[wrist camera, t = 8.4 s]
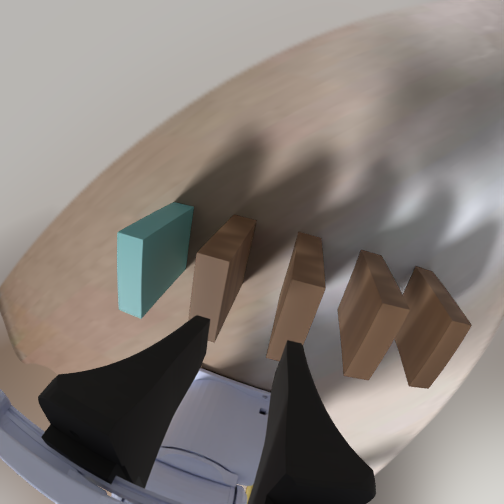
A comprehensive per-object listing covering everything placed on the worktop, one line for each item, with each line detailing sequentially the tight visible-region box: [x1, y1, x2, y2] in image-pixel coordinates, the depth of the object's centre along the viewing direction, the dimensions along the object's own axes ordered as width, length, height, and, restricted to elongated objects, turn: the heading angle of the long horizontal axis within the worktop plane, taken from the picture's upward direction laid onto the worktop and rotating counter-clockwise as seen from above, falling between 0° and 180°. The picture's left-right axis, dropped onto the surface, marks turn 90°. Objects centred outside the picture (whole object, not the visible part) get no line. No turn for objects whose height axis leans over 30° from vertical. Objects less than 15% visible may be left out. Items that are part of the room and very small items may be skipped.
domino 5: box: [395, 266, 472, 388], centre depth 16 cm, size 2×5×7 cm, turn 169°
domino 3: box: [266, 232, 326, 361], centre depth 17 cm, size 2×5×7 cm, turn 168°
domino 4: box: [337, 250, 410, 380], centre depth 17 cm, size 2×5×7 cm, turn 168°
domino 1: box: [117, 202, 194, 319], centre depth 18 cm, size 2×5×7 cm, turn 168°
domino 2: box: [188, 215, 257, 342], centre depth 17 cm, size 2×5×7 cm, turn 168°
